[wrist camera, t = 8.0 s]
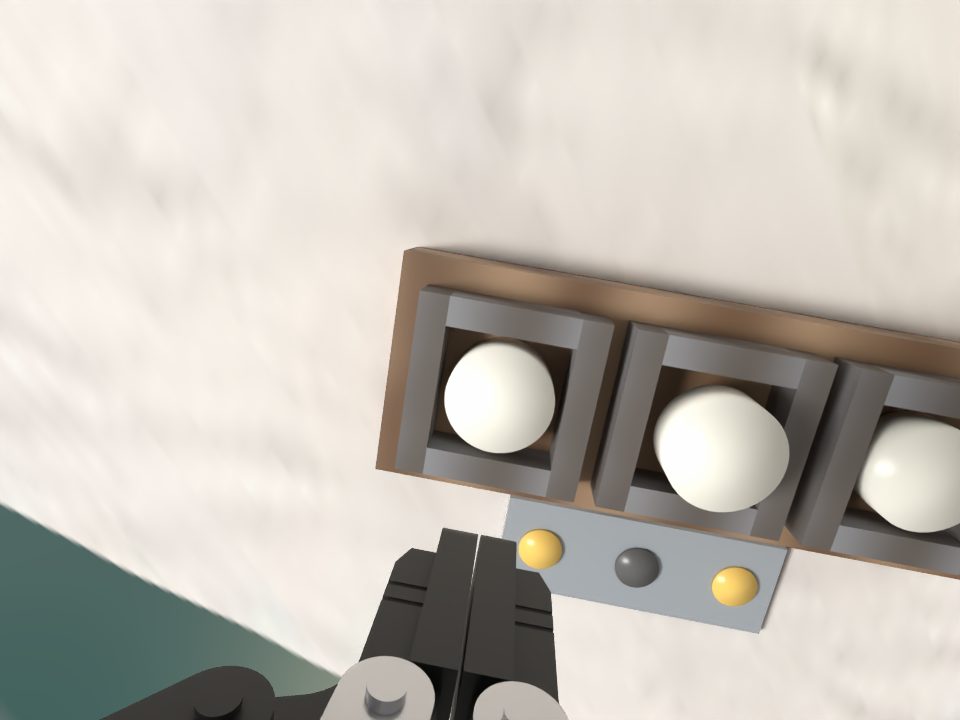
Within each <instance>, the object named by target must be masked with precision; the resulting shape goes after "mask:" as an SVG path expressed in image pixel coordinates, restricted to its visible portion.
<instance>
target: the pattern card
mask: <svg viewBox="0 0 960 720" xmlns="http://www.w3.org/2000/svg"><path fill="white" fill-rule="evenodd" d="M502 539H505V540H510V541H515V542H516V543H517V552H516V568H518V569H523V570H528V571H533V572H538V573H540V575H541V577H542V578H543V580H544V582H545V583H546V585H547V586H548V588H549V590H550V591H551V593H553V594H558V595H563V596H568V597H573V598H578V599H583V600H588V601H594V602H599V603H604V604H609V605H614V606H619V607H624V608H629V609H635V610H640V611H645V612H650V613H655V614H660V615H665V616H670V617H676V618H681V619H686V620H691V621H696V622H701V623H706V624H711V625H717V626H722V627H727V628H732V629H737V630H742V631H747V632H752V633H758V634H759V632H760V629H761V626H762V623H763V620H764V617H765V614H766V612H767V609H768V606H769V603H770V600H771V597H772V594H773V591H774V588H775V586H776V583H777V580H778V577H779V574H780V571H781V568H782V565H783V562H784V560H785V557H786V554H787V551H788V550H787V549H786V547H785V546H780V545H775V544H769V543H764V542H759V541H753V540H748V539H743V538H738V537H732V536H727V535H722V534H717V533H711V532H706V531H701V530H695V529H690V528H685V527H680V526H674V525H669V524H664V523H659V522H653V521H648V520H643V519H637V518H632V517H627V516H622V515H616V514H611V513H606V512H601V511H595V510H590V509H585V508H579V507H574V506H569V505H564V504H558V503H553V502H548V501H543V500H537V499H532V498H527V497H521V496H516V495H510V500H509V505H508V510H507V515H506V520H505V525H504V530H503V535H502Z"/></svg>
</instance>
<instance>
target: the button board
mask: <svg viewBox="0 0 960 720" xmlns="http://www.w3.org/2000/svg"><path fill="white" fill-rule="evenodd" d="M496 337H506V338H512V339H516V340H519V341H522V342H524V343H526V344H528V345H530V346H531V347H532V348H534V349H535V350H536V351H537V352H538V353H539V354H540V355H541V356H542V357H543V359H544V360H545V362H546V363H547V365H548V367H549V370H550V372H551V376H552V381H553V388H554V394H555V408H554V414H553V417H552V420H551V422H550V424H549V426H548V428H547V429H546V431H545V432H544V433H543V435H542V436H541V437H540V438H539V439H538V440H536V441H535V442H534V443H532V444H531V445H529V446H527V447H526V448H523V449H521V450H518V451H514V452H509V453H492V452H487V451H483V450H481V449H478V448H476V447H474V446H472V445H470V444H469V443H467V442H466V441H465V440H463V439H462V438H461V437H460V436H459V435H458V434H457V432H456V431H455V430H454V428H453V427H452V425H451V423H450V421H449V419H448V417H447V414H446V409H445V399H444V398H445V390H446V386H447V383H448V380H449V378H450V376H451V373H452V371H453V369H454V367H455V365H456V363H457V361H458V360H459V358H460V357H461V356H462V354H463V353H464V352H465V351H466V350H468V349H469V348H470V347H471V346H473V345H475V344H476V343H478V342H480V341H483V340H486V339H490V338H496ZM702 385H725V386H729V387H733V388H735V389H738V390H740V391H742V392H743V393H745V394H746V395H748V396H749V397H750V398H752V399H753V400H754V401H755V402H757V403H758V404H759V405H760V406H762V407H763V408H764V409H765V410H766V411H768V412H769V413H770V414H771V415H773V416H774V417H775V418H776V419H777V421H778V422H779V423H780V425H781V426H782V428H783V430H784V431H785V434H786V436H787V439H788V444H789V462H788V466H787V470H786V472H785V474H784V477H783V478H782V480H781V482H780V483H779V485H778V486H777V487H776V489H775V490H774V491H773V492H772V493H771V494H770V495H769V496H767V497H766V498H765V499H764V500H762V501H760V502H759V503H757V504H755V505H753V506H751V507H748V508H746V509H743V510H738V511H734V512H713V511H708V510H704V509H701V508H698V507H696V506H694V505H692V504H690V503H688V502H687V501H686V500H684V499H683V498H682V497H681V496H680V495H679V494H678V493H677V492H676V491H675V489H674V488H673V487H672V485H671V483H670V481H669V480H668V478H667V476H666V474H665V472H664V470H663V468H662V466H661V465H660V463H659V461H658V459H657V456H656V454H655V450H654V444H653V434H654V429H655V425H656V422H657V420H658V418H659V416H660V414H661V412H662V411H663V409H664V408H665V407H666V406H667V405H668V403H669V402H670V401H672V400H673V399H674V398H675V397H677V396H678V395H679V394H681V393H683V392H685V391H687V390H689V389H692V388H694V387H698V386H702ZM897 411H917V412H922V413H925V414H928V415H931V416H933V417H935V418H937V419H939V420H941V421H943V422H945V423H947V424H949V425H951V426H953V427H955V428H957V429H959V430H960V342H955V341H950V340H944V339H938V338H933V337H927V336H921V335H916V334H910V333H904V332H898V331H893V330H887V329H881V328H876V327H870V326H864V325H859V324H853V323H847V322H842V321H836V320H830V319H824V318H819V317H813V316H807V315H802V314H796V313H790V312H785V311H779V310H773V309H768V308H762V307H756V306H751V305H745V304H739V303H733V302H728V301H722V300H716V299H711V298H705V297H699V296H694V295H688V294H682V293H677V292H671V291H665V290H659V289H654V288H648V287H642V286H637V285H631V284H625V283H620V282H614V281H608V280H603V279H597V278H591V277H585V276H580V275H574V274H568V273H563V272H557V271H551V270H546V269H540V268H534V267H529V266H523V265H517V264H511V263H506V262H500V261H494V260H489V259H483V258H477V257H472V256H466V255H460V254H455V253H449V252H443V251H437V250H432V249H426V248H420V247H415V248H412V249H409V250H405V251H404V255H403V263H402V270H401V278H400V285H399V293H398V301H397V308H396V316H395V324H394V331H393V339H392V347H391V354H390V362H389V370H388V377H387V385H386V392H385V400H384V408H383V415H382V423H381V431H380V438H379V446H378V454H377V461H376V469H379V470H384V471H390V472H395V473H400V474H405V475H411V476H416V477H421V478H427V479H432V480H437V481H442V482H448V483H453V484H458V485H463V486H469V487H474V488H479V489H485V490H490V491H495V492H500V493H506V494H511V495H516V496H521V497H527V498H532V499H537V500H543V501H548V502H553V503H558V504H564V505H569V506H574V507H579V508H585V509H590V510H595V511H601V512H606V513H611V514H616V515H622V516H627V517H632V518H637V519H643V520H648V521H653V522H659V523H664V524H669V525H674V526H680V527H685V528H690V529H695V530H701V531H706V532H711V533H717V534H722V535H727V536H732V537H738V538H743V539H748V540H753V541H759V542H764V543H769V544H775V545H780V546H785V547H790V548H796V549H801V550H806V551H812V552H817V553H822V554H827V555H833V556H838V557H843V558H848V559H854V560H859V561H864V562H870V563H875V564H880V565H885V566H891V567H896V568H901V569H906V570H912V571H917V572H922V573H928V574H933V575H938V576H943V577H949V578H954V579H959V580H960V523H959V524H957V525H955V526H953V527H950V528H947V529H944V530H940V531H935V532H912V531H908V530H904V529H901V528H899V527H897V526H895V525H893V524H891V523H890V522H889V521H887V520H886V519H885V518H884V517H882V516H881V515H880V514H879V513H878V512H876V511H875V510H874V509H873V508H872V507H871V506H869V505H868V504H867V503H866V502H865V501H863V500H862V499H861V498H860V497H859V496H858V495H857V494H856V493H855V492H854V491H853V488H854V485H855V482H856V479H857V477H858V474H859V471H860V469H861V466H862V463H863V460H864V458H865V455H866V452H867V450H868V447H869V444H870V441H871V439H872V436H873V433H874V430H875V428H876V425H877V422H878V420H879V417H880V416H882V415H885V414H888V413H892V412H897Z"/></svg>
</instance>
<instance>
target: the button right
mask: <svg viewBox="0 0 960 720" xmlns="http://www.w3.org/2000/svg"><path fill="white" fill-rule="evenodd" d="M853 491H854V492H855V493H856V494H857V495H858V496H859V497H860V498H861V499H862V500H863V501H865V502H866V503H867V504H868V505H869V506H871V507H872V508H873V509H874V510H875V511H876V512H878V513H879V514H880V515H881V516H882V517H884V518H885V519H886V520H887V521H889V522H890V523H891V524H893V525H895V526H897V527H899V528H901V529H904V530H908V531H912V532H935V531H940V530H944V529H947V528H950V527H953V526H955V525H957V524H959V523H960V430H959V429H957V428H955V427H953V426H951V425H949V424H947V423H945V422H943V421H941V420H939V419H937V418H935V417H933V416H931V415H928V414H925V413H922V412H917V411H897V412H892V413H888V414H885V415H882V416H880V417H879V420H878V422H877V425H876V428H875V430H874V433H873V436H872V439H871V441H870V444H869V447H868V450H867V452H866V455H865V458H864V460H863V463H862V466H861V469H860V471H859V474H858V477H857V479H856V482H855V485H854V488H853Z"/></svg>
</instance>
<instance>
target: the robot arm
mask: <svg viewBox="0 0 960 720" xmlns="http://www.w3.org/2000/svg"><path fill="white" fill-rule="evenodd" d="M477 539H478V534H473V533H468V532H463V531H458V530H452V529H447V528H443V529H442V533H441V537H440V541H439V545H438V549H437V553H434V552H429V551H424V550H419V549H414V548H411V549H410V550H409V551H408V552H407V553H405V554H404V555H403V556H402V557H401V558H399V559H398V560H397V561H396V562H395V565H394V568H393V570H392V573H391V576H390V578H389V582H388V584H387V587H386V589H385V592H384V595H383V599H382V600H381V603H380V606H379V608H378V611H377V614H376V617H375V619H374V622H373V625H372V627H371V630H370V633H369V636H368V638H367V641H366V644H365V646H364V649H363V652H362V655H361V657H360V660H359V662H358V663H357V664H355V665H353V666H352V667H351V668H350V669H348V670H347V671H346V672H345V674H344V675H343V676H342V678H341V679H340V681H339V683H338V684H337V685H335V686H333V687H331V688H328V689H326V690H324V691H320V692H316V693H312V694H306V695H295V696H284V697H275V694H274V691H273V688H272V686H271V684H270V683H269V681H268V680H267V679H266V678H265V677H264V676H263V675H261V674H259V673H258V672H256V671H254V670H252V669H248V668H244V667H239V666H223V667H216V668H212V669H208V670H205V671H202V672H200V673H197V674H195V675H193V676H191V677H189V678H187V679H185V680H182V681H180V682H178V683H176V684H174V685H172V686H170V687H168V688H166V689H164V690H162V691H159V692H157V693H156V694H153V695H151V696H149V697H147V698H145V699H143V700H140V701H139V702H136V703H134V704H132V705H130V706H128V707H126V708H124V709H122V710H120V711H117V712H115V713H113V714H111V715H109V716H107V717H105V718H103V719H100V720H449V718H450V720H568V718H567V715H566V713H565V712H564V710H563V709H562V707H561V706H560V705H559V700H558V687H557V673H556V659H555V645H554V633H553V616H552V602H551V591H550V590H549V588H548V586H547V585H546V583H545V582H544V580H543V578H542V577H541V575H540V573H538V572H533V571H528V570H523V569H518V568H516V552H517V543H516V542H515V541H510V540H505V539H500V538H495V537H489V536H484V535H481V537H480V542H479V547H478V552H477V557H476V563H475V568H474V573H473V567H474V560H475V553H476V546H477ZM472 574H473V578H472ZM471 581H472V583H471ZM470 588H471V589H470ZM451 707H452V709H451ZM450 713H451V716H450Z"/></svg>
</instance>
